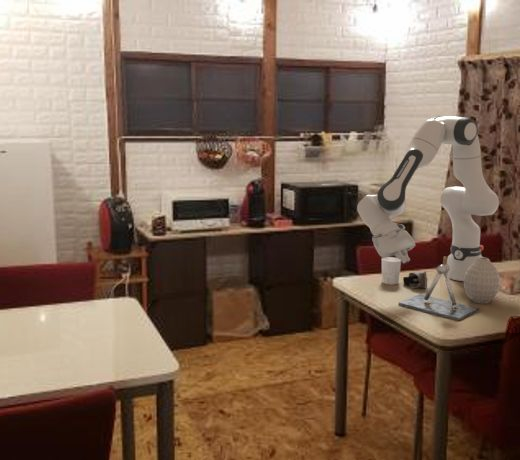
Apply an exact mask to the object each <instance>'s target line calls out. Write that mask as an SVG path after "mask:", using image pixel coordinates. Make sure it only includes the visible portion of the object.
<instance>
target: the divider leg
mask: <svg viewBox="0 0 520 460" xmlns="http://www.w3.org/2000/svg"><path fill="white" fill-rule="evenodd" d="M435 269H436V272H437V273H435V276H434V278H433V280H432V282H431V284H430V286H429V287H428V290H427V291H426V293H425V294H424V295H425V297H424V299H425V300H428V299H429V297H431V295H432V294H433V291H434V289H435V288H436V286H437V284H438V282H439V280H440V278H441V276H442V275H444V274H443V273H445V272H446V271H447V268H446V266H445V265H442V264H440V265H439V264H438V266H436V268H435Z"/></svg>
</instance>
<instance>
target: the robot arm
mask: <svg viewBox="0 0 520 460" xmlns="http://www.w3.org/2000/svg"><path fill="white" fill-rule="evenodd" d="M442 144H444V145H451V146H452V167H453V169H452V171H453V172H452V173H453V176H454V178H456V179H457V180H458V181H459V182H460V183H461V184H462V185H463V186H458V185H456V186H448V187H445V188H444V189H443V190H442V191H441V194H440V199H439V200H440V201H439V202H440V204H441V207H442V208H443V209H444V210H445V211H446V212H447V214H448V216H449V218H450V221H451V225H452V240H451V241H452V242H451V245H450V254H449V255H448V256H447V263H446V264H448V265H449V268H450V269H449V271H448V275H449V279H451V280H454V281H459V282H464V276H465V273H466V271H467V269H468V268H469V266H470V265H471V264H472V263H473V262H475V261H476V260H477V259H478V258H479V257H483V256H482V251H484V245H482V244H480V243H481V242H480V241H481V227H480V226H479V225H478V224H477V223H476V222H475V221H474V219H473V218H472V215H473V216H474V215H475V216H478V217H479V216H480V217H481V216H492V215H494V214H495V213H496V211H498V208H499V205H500V200H499V199H500V198H499V197H498V195H497V194H496V193H495V191H493V190H492V189H491V188H490V186H489V185H488V183H487V182H486V180H485V177H484V174H483V167H482V156H481V154H482V153H481V152H482V151H481V145H480V139H479V136H478V126H477V124H476V121H475V120H474V119H473V118H469V117H467V116H463V117H462V116H456V115H449V116H448V115H447V116H435V117H432V118H430V119H426V120H425V121H424V122H423V123H422V124H420V126H419V128H418V129H417V130H416V132H415V133H414V134H413V137H412V138H411V140H410V142H409V144H408V146H407V148H406V150H405V154H404V156H403V159H402V160H401V162H400V163H399V165H398V167H397V168H396V170H395V172H394V174H393V175H392V176H391V178H390V179H389V180H388V181H387V182H385V183H384V184H383V185H382V186H380V187H379V190H378V191H377V194H367V195H364V196H363V197H362V198H361V199H360V200H359V202H358V204H357V208H356V211H357V213H358V214H359V217H360V218H361V219H362V221H363V222H364V224H365V225H366V226H367V227H368V228H369V229H370V232H371V234H372V238H371V240H372V243H373V247H374V248H375V250H376V252H377V253H378V255H379V256H380V257H381V259H382V258H386V257H393V256H395V258H398V259H400V260H401V263H402V264H406V263H409V262H410V261H411V258H410V257H409V255H408V254H409V253H408V251H411V250H413V248H415V247H416V242H415V240H414V239H413V237H412V236H411V234H410V233H409V232H408V231H407V230H405V229H406V227H405V225H404V224H401V223H396V222H393V220H392V219H395V218H396V217H399V216H400V215H402V214H403V213H404V212H405V210H406V206H407V202H406V190H407V186H408V185H409V183H410V182H411V180H412V177H413V176H414V175H415V173H416V172H417V170H418V169H421V168H426V167H428V166H429V165H430V164H431V163H432V161H433V160H434V158H435V157H436V155H437V154H438V152H439V150H440V148H441V145H442Z"/></svg>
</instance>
